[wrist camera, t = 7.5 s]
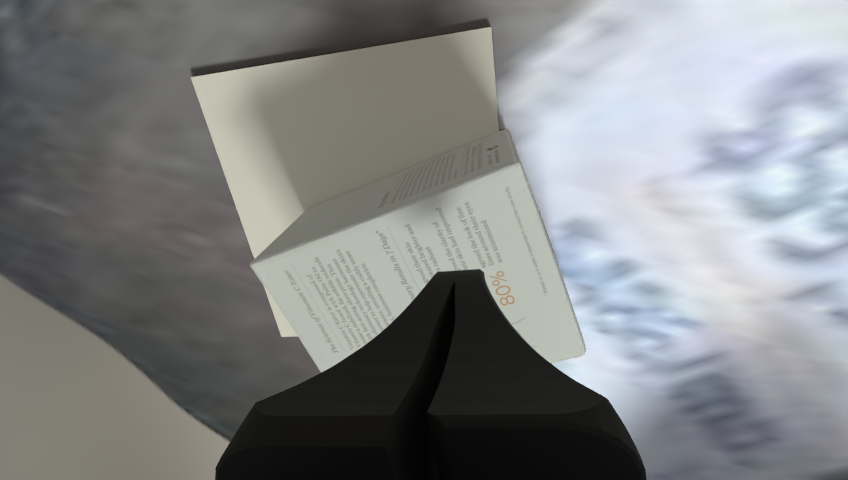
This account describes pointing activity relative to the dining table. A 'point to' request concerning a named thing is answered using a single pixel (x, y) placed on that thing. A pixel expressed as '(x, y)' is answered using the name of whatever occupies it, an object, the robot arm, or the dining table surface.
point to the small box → (421, 253)
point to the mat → (343, 124)
